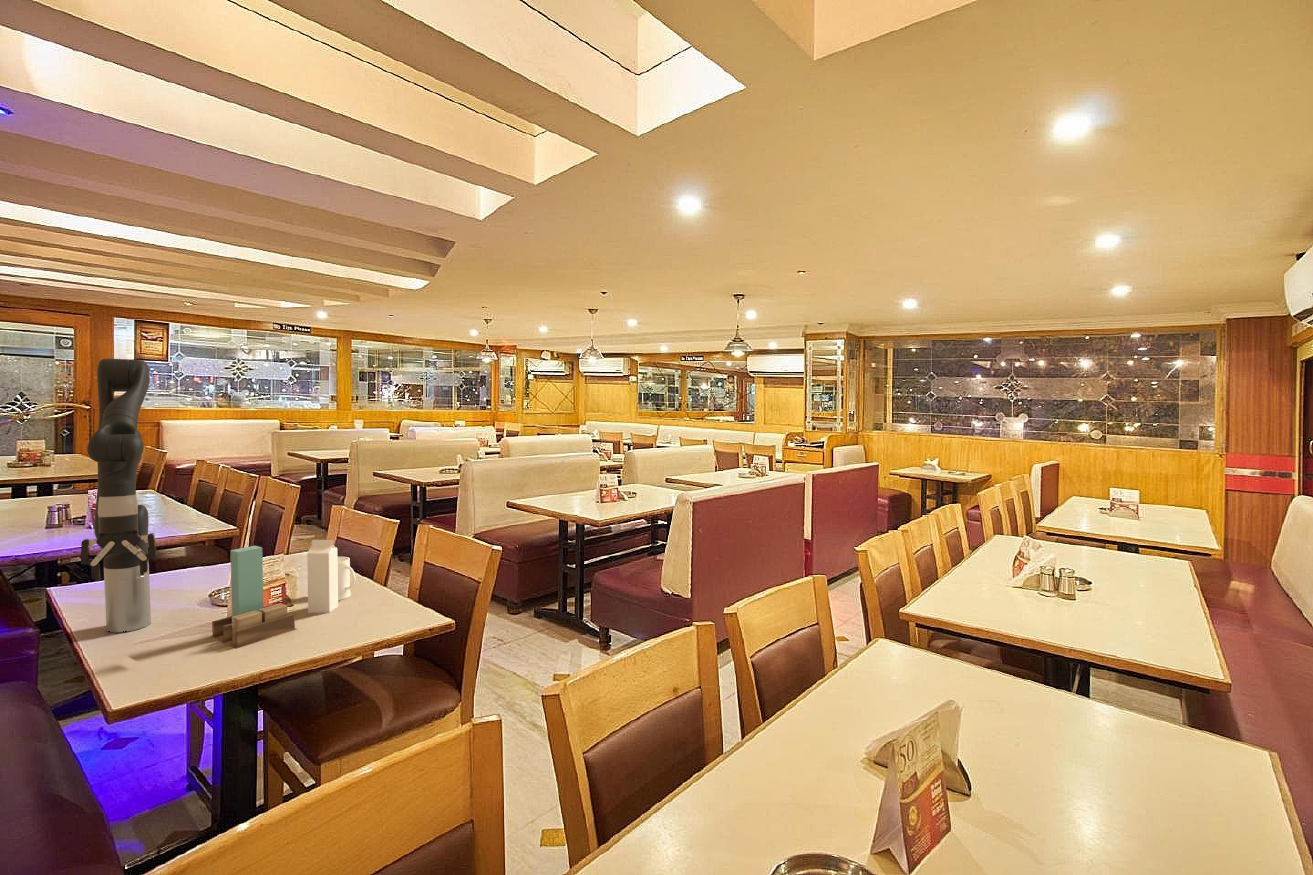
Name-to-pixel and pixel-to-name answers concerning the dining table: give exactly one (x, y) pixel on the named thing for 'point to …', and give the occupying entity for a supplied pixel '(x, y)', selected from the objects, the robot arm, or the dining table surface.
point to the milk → (322, 576)
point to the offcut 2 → (273, 612)
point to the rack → (251, 631)
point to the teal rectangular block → (246, 580)
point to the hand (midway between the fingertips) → (120, 577)
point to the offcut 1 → (245, 621)
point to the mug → (344, 578)
